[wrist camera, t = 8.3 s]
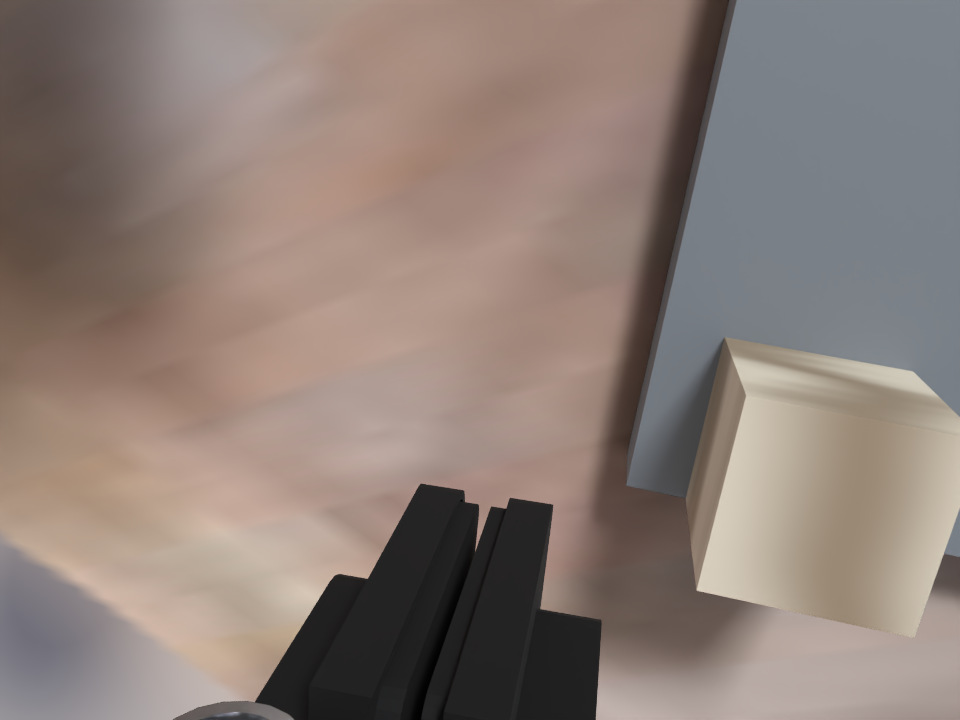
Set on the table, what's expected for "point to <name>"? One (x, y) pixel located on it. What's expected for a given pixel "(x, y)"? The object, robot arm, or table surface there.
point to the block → (823, 486)
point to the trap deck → (813, 211)
